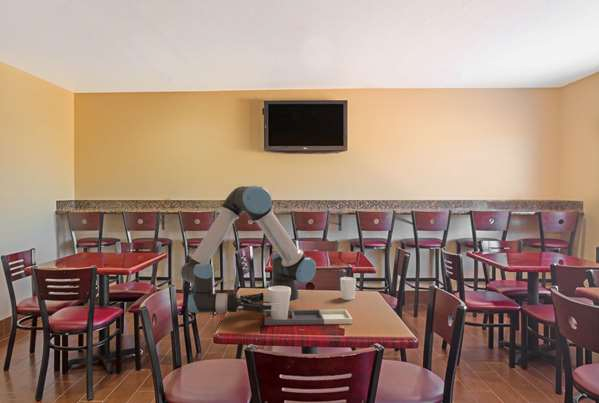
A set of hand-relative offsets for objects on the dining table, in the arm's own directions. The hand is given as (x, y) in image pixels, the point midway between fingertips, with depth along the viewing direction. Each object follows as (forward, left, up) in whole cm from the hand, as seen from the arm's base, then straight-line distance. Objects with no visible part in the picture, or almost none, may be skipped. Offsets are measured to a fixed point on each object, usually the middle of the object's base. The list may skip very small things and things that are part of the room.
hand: (279, 302), depth 165 cm
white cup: (-2, +49, -8) cm, 49 cm away
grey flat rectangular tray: (+7, +9, -7) cm, 14 cm away
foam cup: (0, 0, -8) cm, 8 cm away
